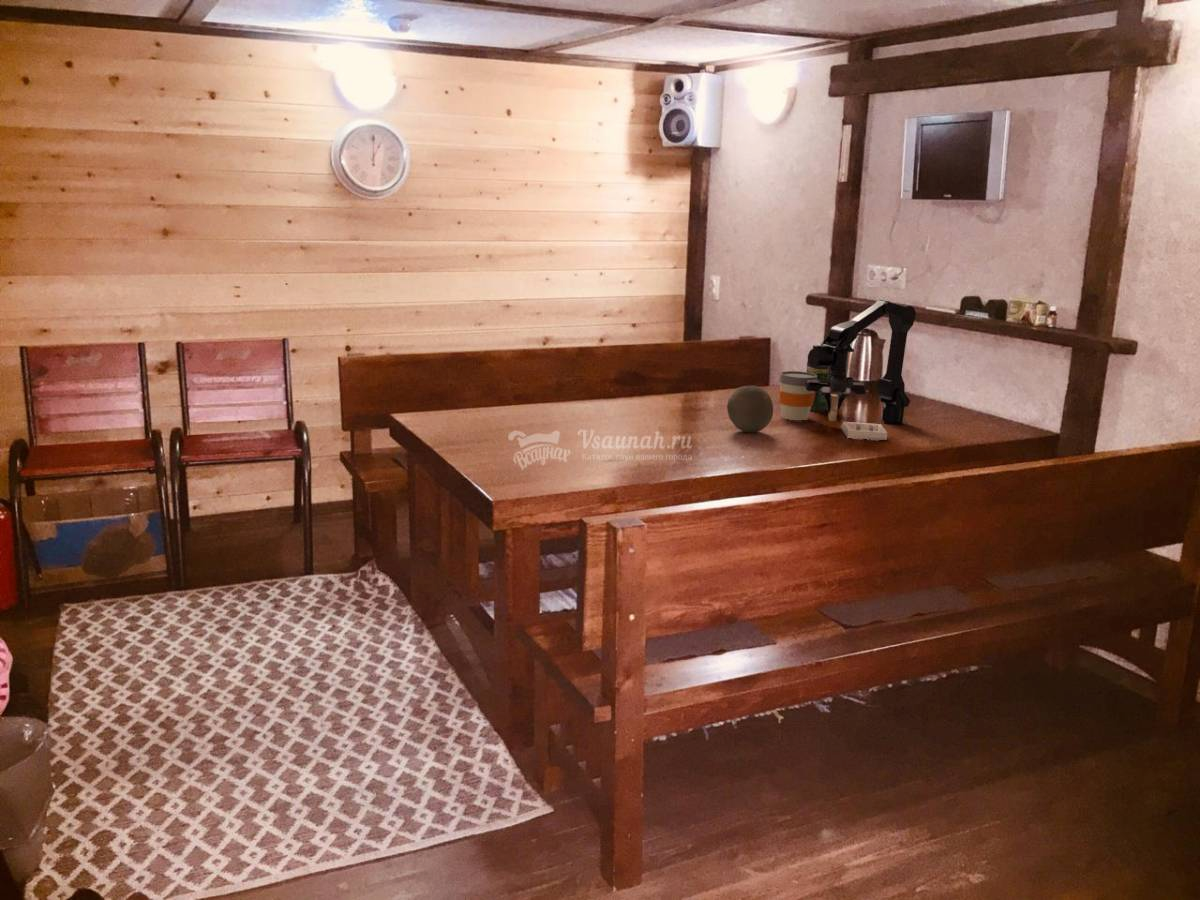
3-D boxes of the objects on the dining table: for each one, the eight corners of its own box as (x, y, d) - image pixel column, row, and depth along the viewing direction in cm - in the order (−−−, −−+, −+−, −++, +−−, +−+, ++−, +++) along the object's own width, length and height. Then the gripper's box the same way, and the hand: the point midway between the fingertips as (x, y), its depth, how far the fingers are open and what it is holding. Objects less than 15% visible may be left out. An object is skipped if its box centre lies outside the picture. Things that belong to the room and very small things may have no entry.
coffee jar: (832, 411, 348) (838, 359, 343) (812, 412, 346) (818, 359, 341) (818, 405, 357) (823, 354, 352) (799, 406, 354) (804, 355, 350)
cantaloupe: (733, 425, 321) (737, 379, 317) (776, 431, 315) (780, 385, 311) (719, 434, 309) (722, 386, 305) (763, 440, 303) (767, 392, 299)
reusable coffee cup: (801, 413, 343) (806, 370, 339) (820, 421, 332) (825, 377, 328) (769, 414, 339) (773, 371, 335) (787, 422, 328) (791, 378, 324)
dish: (879, 431, 321) (880, 422, 320) (886, 441, 309) (887, 431, 309) (842, 429, 322) (843, 420, 321) (847, 438, 310) (848, 428, 310)
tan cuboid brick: (834, 418, 326) (836, 394, 324) (836, 421, 322) (838, 397, 320) (828, 417, 327) (830, 394, 325) (829, 420, 322) (832, 396, 320)
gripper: (811, 368, 313) (806, 416, 317) (871, 371, 311) (865, 420, 315) (807, 362, 323) (802, 408, 328) (865, 365, 322) (860, 412, 326)
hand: (832, 412), depth 324 cm, fingers closed on tan cuboid brick, 2 cm apart
